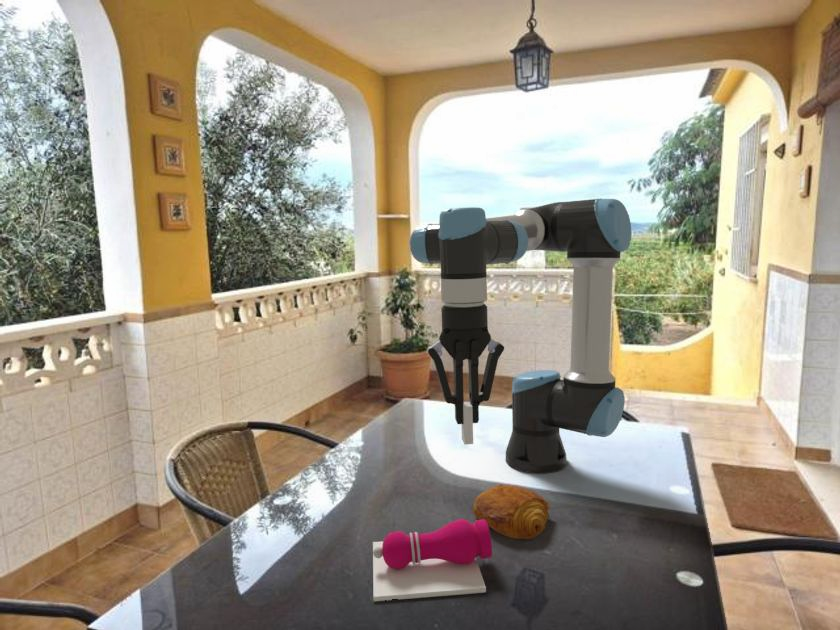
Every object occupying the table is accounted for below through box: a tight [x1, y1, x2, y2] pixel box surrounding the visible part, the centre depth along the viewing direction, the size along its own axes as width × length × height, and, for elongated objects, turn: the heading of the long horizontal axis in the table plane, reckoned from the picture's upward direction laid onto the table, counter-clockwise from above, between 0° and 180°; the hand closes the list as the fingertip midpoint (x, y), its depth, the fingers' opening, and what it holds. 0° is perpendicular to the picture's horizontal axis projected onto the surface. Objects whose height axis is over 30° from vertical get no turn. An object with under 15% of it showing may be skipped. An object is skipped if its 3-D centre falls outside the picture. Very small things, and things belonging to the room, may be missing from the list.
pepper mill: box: [372, 518, 493, 569], centre depth 94 cm, size 7×7×20 cm
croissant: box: [472, 483, 551, 540], centre depth 109 cm, size 14×16×8 cm
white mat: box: [372, 540, 487, 602], centre depth 94 cm, size 18×16×1 cm
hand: (467, 441), depth 92 cm, fingers closed
